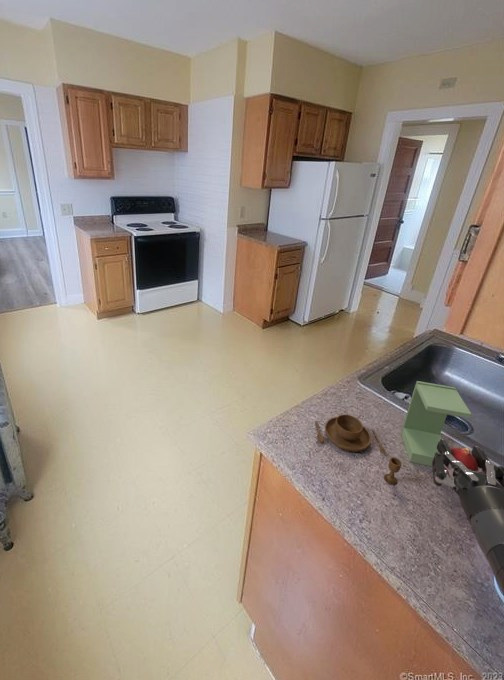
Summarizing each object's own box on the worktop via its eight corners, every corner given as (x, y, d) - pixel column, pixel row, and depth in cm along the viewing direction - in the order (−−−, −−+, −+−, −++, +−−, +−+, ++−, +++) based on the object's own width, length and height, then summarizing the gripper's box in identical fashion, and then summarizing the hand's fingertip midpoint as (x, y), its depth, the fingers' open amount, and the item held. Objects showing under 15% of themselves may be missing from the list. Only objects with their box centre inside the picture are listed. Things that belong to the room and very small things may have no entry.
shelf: (449, 470, 80) (472, 413, 73) (409, 461, 82) (428, 405, 76) (436, 440, 89) (455, 387, 82) (400, 433, 91) (416, 380, 84)
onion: (434, 479, 64) (446, 449, 61) (439, 461, 68) (450, 432, 65) (470, 497, 61) (484, 466, 58) (473, 477, 65) (486, 447, 62)
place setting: (372, 424, 94) (376, 408, 92) (401, 485, 76) (407, 467, 74) (311, 418, 96) (314, 402, 93) (325, 477, 77) (329, 459, 75)
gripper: (567, 526, 46) (506, 439, 62) (454, 498, 50) (422, 423, 65) (547, 559, 49) (493, 468, 64) (441, 530, 53) (413, 451, 68)
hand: (457, 446), depth 65 cm, fingers closed on onion, 5 cm apart
